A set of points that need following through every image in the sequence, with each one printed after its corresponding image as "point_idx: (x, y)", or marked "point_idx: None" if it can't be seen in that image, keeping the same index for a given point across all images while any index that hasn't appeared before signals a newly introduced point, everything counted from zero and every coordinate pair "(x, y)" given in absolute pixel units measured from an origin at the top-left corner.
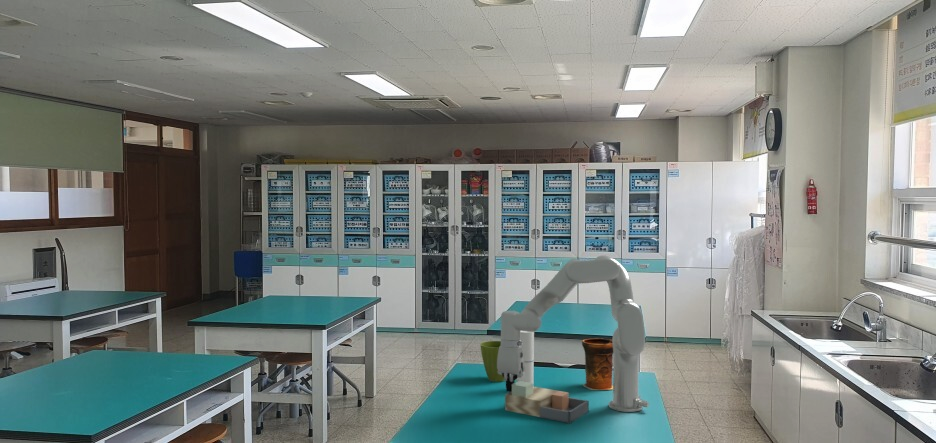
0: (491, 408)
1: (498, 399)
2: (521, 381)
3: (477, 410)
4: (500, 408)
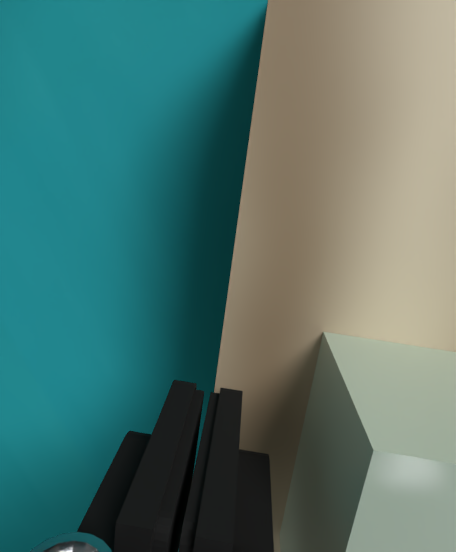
0: (91, 418)
1: (5, 131)
2: (446, 479)
3: (23, 499)
4: (158, 390)
